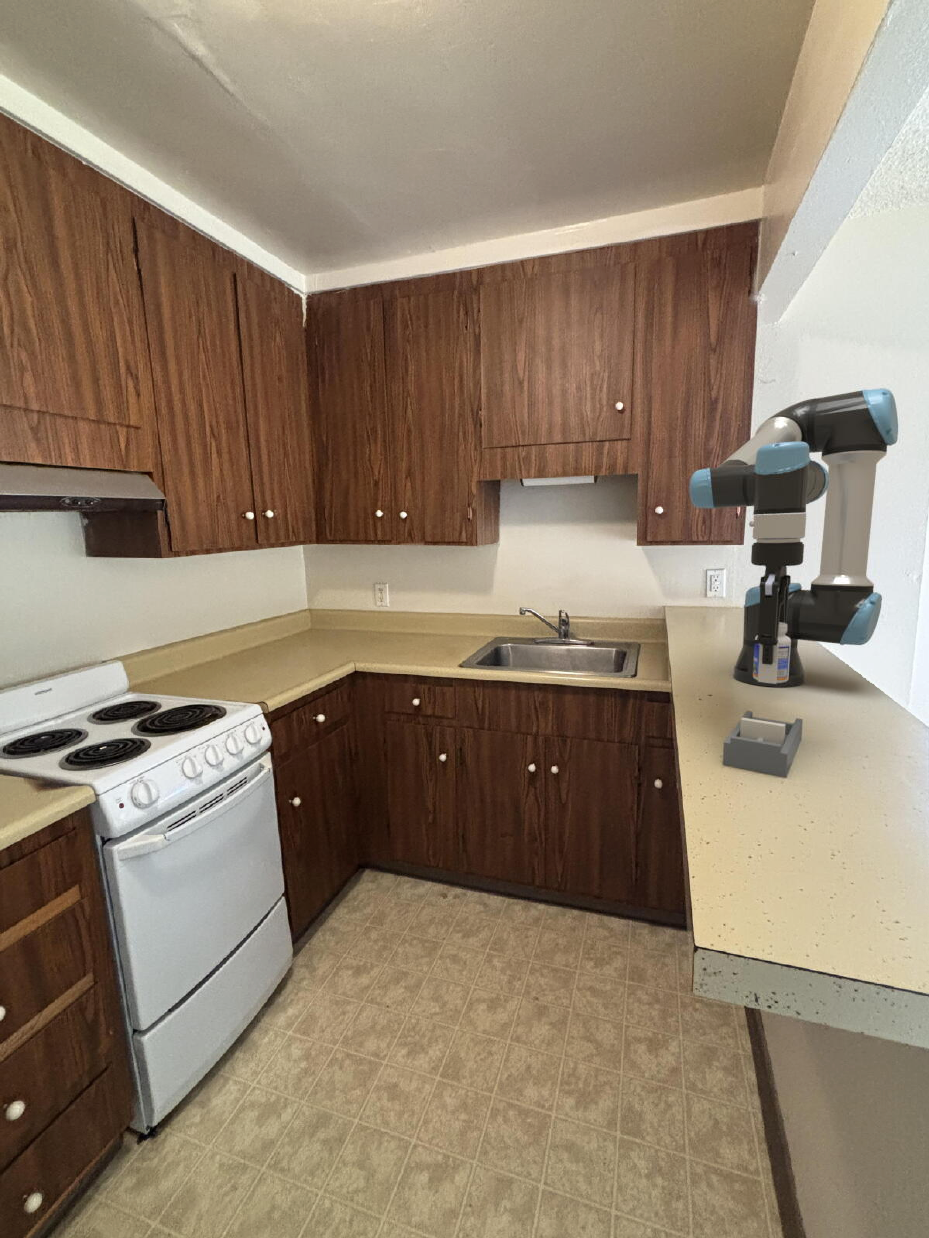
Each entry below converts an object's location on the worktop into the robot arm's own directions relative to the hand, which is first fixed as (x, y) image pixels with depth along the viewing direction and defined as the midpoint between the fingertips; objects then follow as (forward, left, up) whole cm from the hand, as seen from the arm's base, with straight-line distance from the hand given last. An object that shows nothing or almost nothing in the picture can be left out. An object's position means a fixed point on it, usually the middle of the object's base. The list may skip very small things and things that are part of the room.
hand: (770, 677), depth 96 cm
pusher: (+7, 0, -11) cm, 13 cm away
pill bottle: (0, 0, -1) cm, 1 cm away
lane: (+3, 0, -12) cm, 13 cm away
